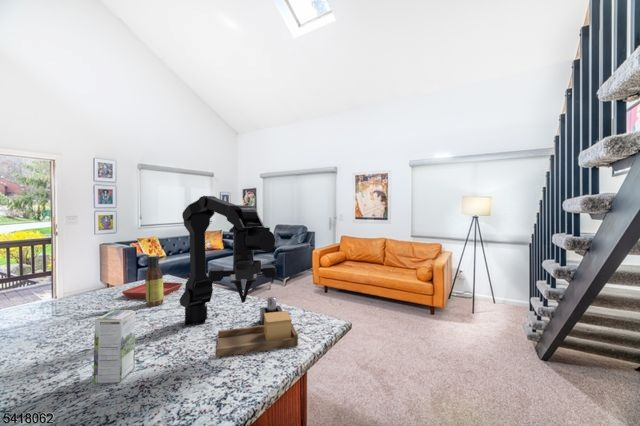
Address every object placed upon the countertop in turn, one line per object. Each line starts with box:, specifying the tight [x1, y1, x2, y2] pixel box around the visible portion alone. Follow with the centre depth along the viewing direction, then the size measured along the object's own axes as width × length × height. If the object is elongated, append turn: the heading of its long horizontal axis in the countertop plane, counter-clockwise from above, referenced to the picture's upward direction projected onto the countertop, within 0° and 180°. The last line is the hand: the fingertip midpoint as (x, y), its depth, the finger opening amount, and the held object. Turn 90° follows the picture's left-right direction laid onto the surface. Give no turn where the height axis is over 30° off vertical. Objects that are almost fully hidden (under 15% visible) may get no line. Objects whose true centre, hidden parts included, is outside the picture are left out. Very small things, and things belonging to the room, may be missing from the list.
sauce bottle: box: [144, 254, 165, 307], centre depth 114 cm, size 7×6×20 cm
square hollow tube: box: [259, 305, 283, 326], centre depth 96 cm, size 7×7×4 cm
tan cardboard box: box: [264, 310, 292, 341], centre depth 84 cm, size 7×7×6 cm
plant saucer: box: [121, 281, 184, 299], centre depth 129 cm, size 18×18×3 cm
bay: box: [216, 322, 299, 358], centre depth 82 cm, size 22×12×3 cm, turn 108°
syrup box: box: [92, 309, 137, 384], centre depth 65 cm, size 6×6×14 cm
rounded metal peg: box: [266, 296, 277, 313], centre depth 96 cm, size 3×3×7 cm
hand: (243, 302), depth 81 cm, fingers closed
